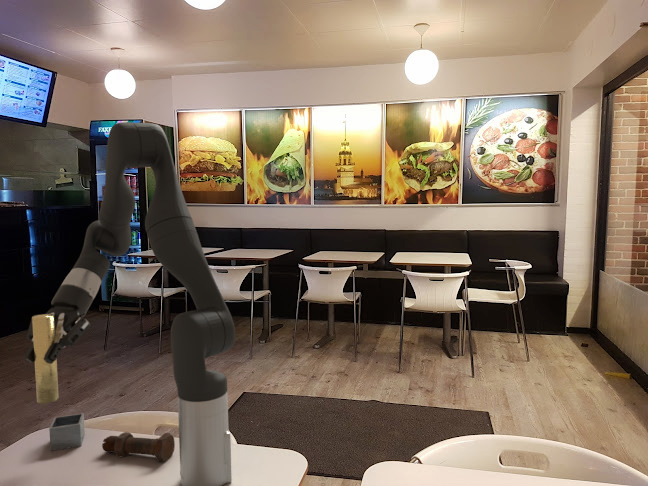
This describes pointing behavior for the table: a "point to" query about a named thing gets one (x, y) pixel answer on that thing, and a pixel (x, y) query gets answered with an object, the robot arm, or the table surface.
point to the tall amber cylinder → (43, 370)
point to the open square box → (67, 431)
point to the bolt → (140, 446)
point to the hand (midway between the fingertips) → (38, 360)
